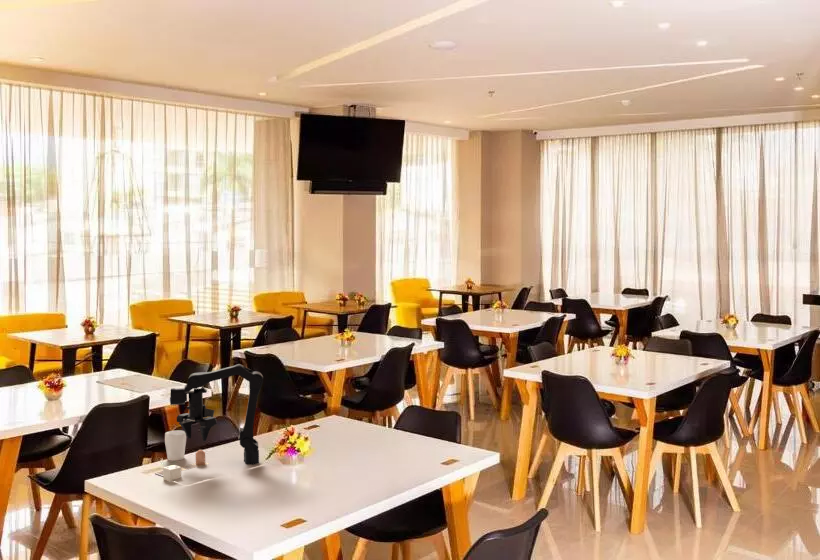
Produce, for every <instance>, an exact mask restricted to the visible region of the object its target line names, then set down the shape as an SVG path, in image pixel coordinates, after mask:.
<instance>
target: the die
mask: <svg viewBox="0 0 820 560" xmlns="http://www.w3.org/2000/svg"><path fill="white" fill-rule="evenodd" d="M181 467H182V466H179V465H177V464H172V465H168V466H163V469H162V471H163V475H162V476H163V477H162V479H164V481H166V480H167V482H169V483H171V482H176V480H177V479H180V478H182V471H181Z"/></svg>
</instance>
